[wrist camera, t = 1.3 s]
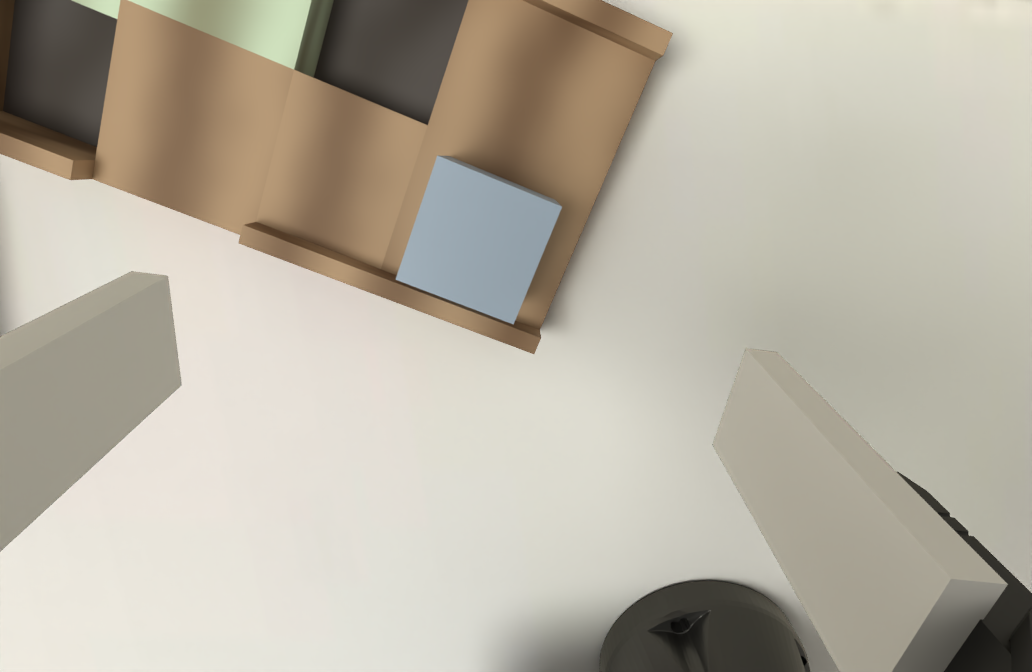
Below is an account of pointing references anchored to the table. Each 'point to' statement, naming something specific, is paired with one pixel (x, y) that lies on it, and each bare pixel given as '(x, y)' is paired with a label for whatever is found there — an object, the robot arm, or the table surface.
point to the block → (477, 239)
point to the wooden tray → (329, 117)
